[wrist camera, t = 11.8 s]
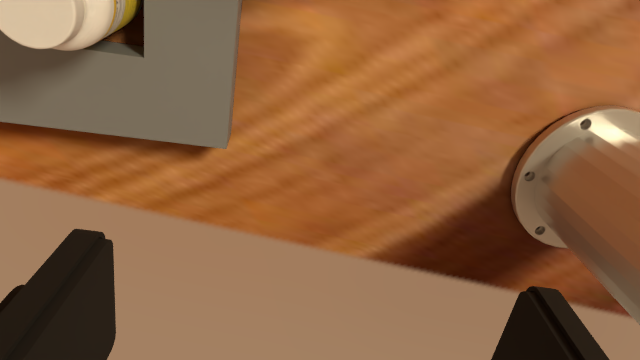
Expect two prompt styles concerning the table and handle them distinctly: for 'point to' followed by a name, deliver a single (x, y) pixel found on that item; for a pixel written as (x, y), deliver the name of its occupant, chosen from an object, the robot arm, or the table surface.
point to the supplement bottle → (64, 21)
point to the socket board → (134, 78)
